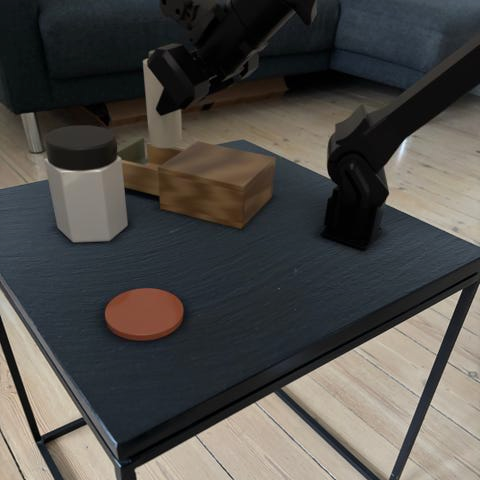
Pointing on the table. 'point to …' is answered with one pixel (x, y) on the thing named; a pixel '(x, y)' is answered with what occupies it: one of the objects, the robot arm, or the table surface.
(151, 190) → the drawer
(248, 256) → the table surface
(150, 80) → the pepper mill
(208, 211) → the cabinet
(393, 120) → the robot arm
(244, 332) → the table surface
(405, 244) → the table surface
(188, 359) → the table surface
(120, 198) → the jar
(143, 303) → the disc
